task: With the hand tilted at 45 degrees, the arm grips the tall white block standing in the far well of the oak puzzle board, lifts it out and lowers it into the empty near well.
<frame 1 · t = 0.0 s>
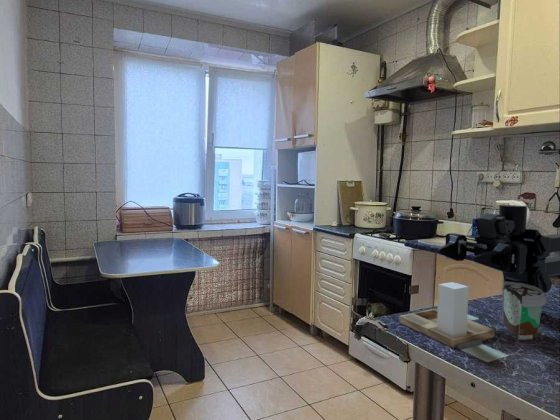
hand: (455, 255, 87), 17 cm above the counter, tool horizontal, fingers open, 9 cm apart
tall white block: (451, 337, 83), resting on puzzle board
puzzle board: (444, 331, 88), on the counter
food container: (525, 335, 86), on the counter
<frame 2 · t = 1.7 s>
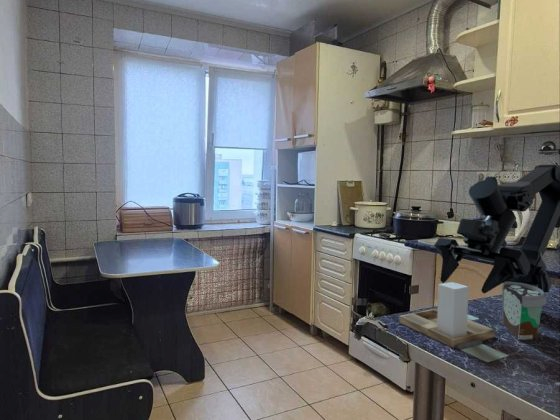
hand: (461, 286, 84), 11 cm above the counter, tool tilted 45°, fingers open, 9 cm apart
nothing on the counter moved.
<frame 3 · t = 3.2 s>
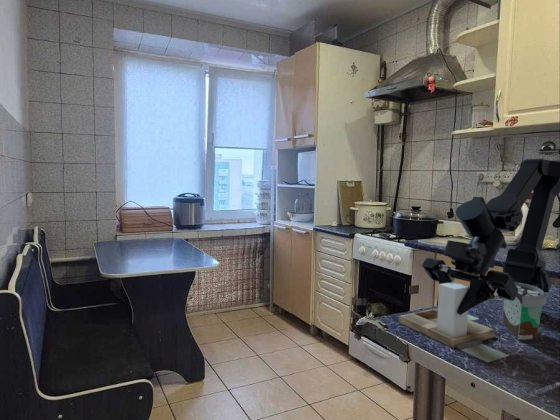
hand: (448, 310, 82), 7 cm above the counter, tool tilted 45°, fingers closed on tall white block, 4 cm apart
tall white block: (451, 337, 83), point 1 cm above the counter, touching gripper, puzzle board
everything else where it was.
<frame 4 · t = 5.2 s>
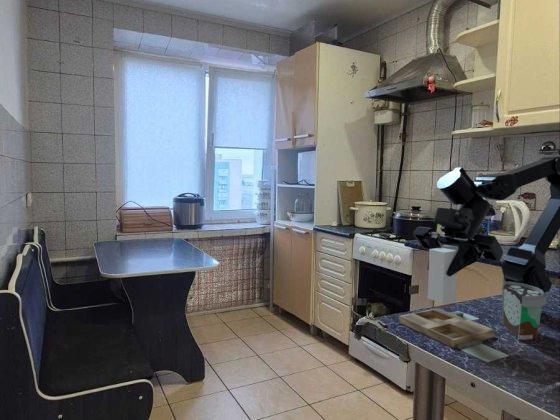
hand: (438, 273, 87), 13 cm above the counter, tool tilted 45°, fingers closed on tall white block, 4 cm apart
tall white block: (441, 299, 88), point 7 cm above the counter, touching gripper
everything else where it was.
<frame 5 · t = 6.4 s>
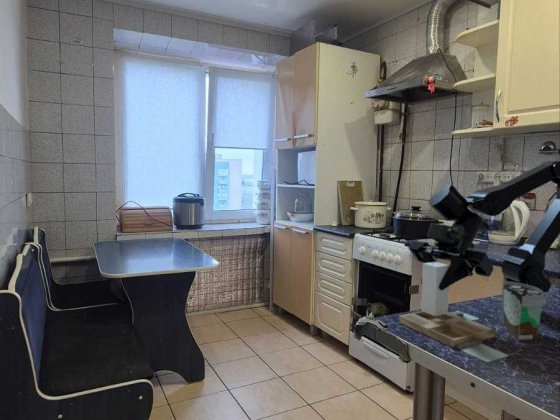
hand: (431, 286, 90), 9 cm above the counter, tool tilted 45°, fingers closed on tall white block, 4 cm apart
tall white block: (434, 311, 91), point 3 cm above the counter, touching gripper
everything else where it was.
when the fingers open (7 cm above the counter, at t = 7.1 s): tall white block stays where it is, resting on puzzle board.
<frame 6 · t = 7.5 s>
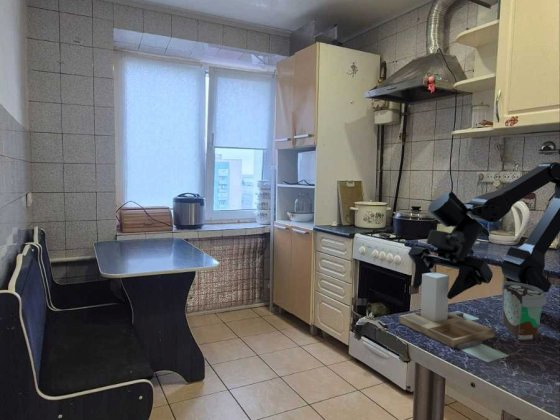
hand: (430, 293, 90), 8 cm above the counter, tool tilted 45°, fingers open, 9 cm apart
tall white block: (433, 322, 92), resting on puzzle board
everything else where it was.
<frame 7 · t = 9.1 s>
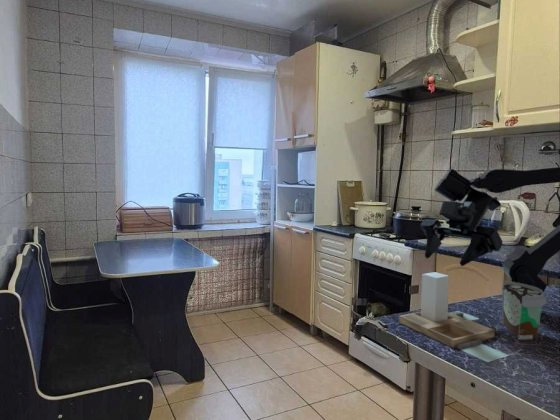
hand: (442, 261, 95), 14 cm above the counter, tool tilted 45°, fingers open, 9 cm apart
nothing on the counter moved.
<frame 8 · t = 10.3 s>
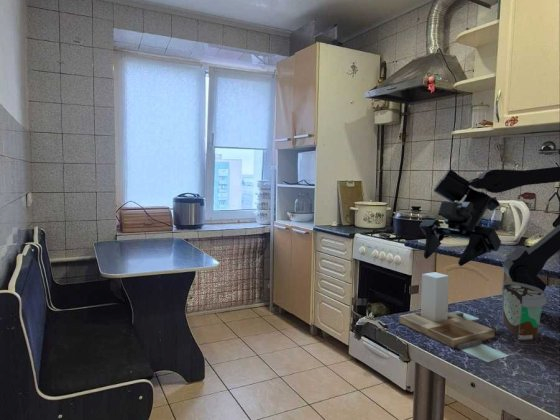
hand: (441, 261, 95), 14 cm above the counter, tool tilted 45°, fingers open, 9 cm apart
nothing on the counter moved.
at the end: tall white block 0.1 cm from the target spot, point 0.5 cm above the counter; tall white block tilted 0°; the gripper is holding nothing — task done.
